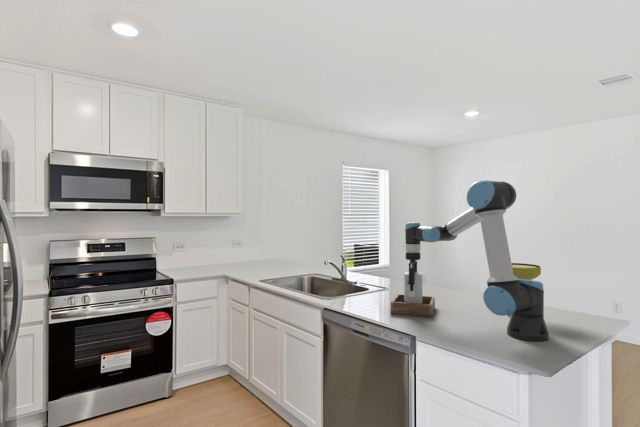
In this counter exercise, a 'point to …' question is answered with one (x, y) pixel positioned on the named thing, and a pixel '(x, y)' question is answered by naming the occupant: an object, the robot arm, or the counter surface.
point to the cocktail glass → (525, 271)
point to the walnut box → (413, 307)
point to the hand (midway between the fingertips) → (413, 294)
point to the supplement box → (418, 288)
